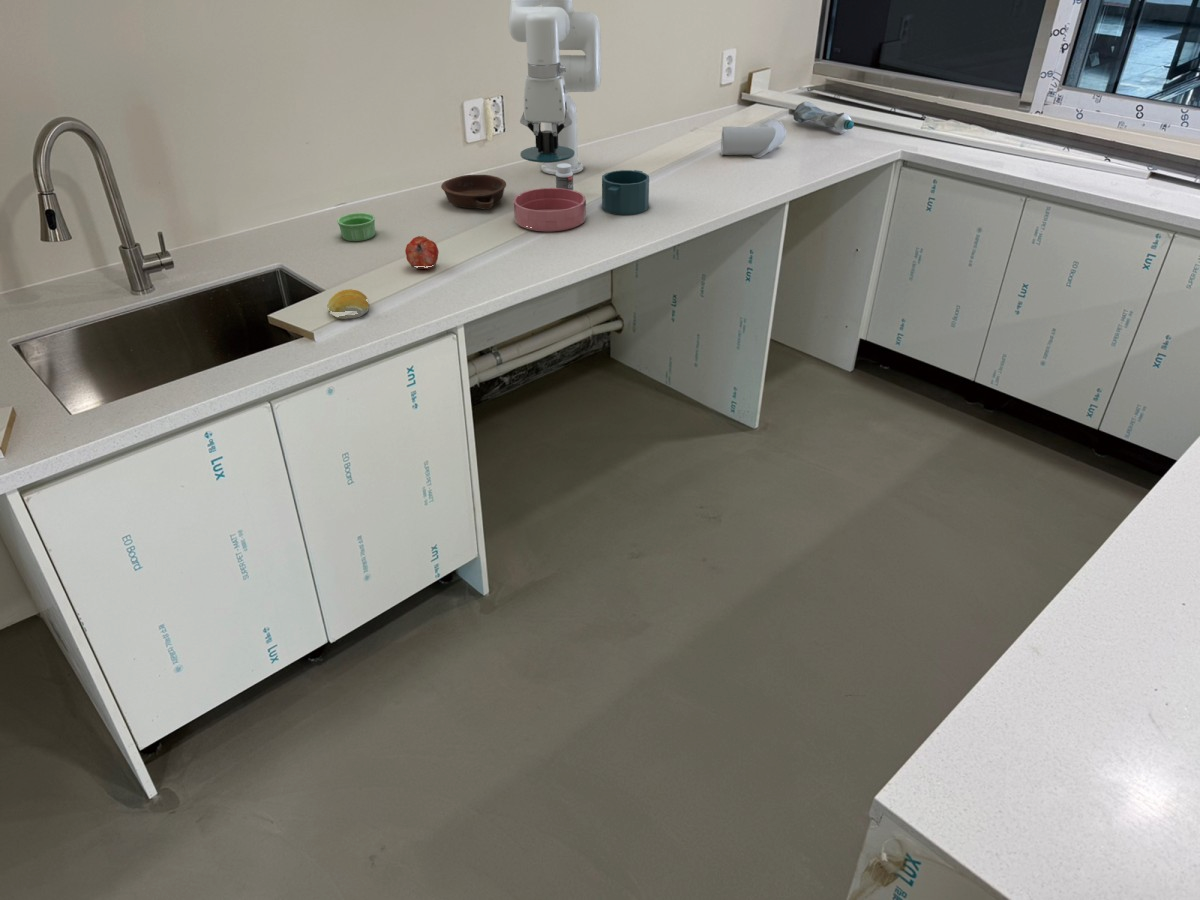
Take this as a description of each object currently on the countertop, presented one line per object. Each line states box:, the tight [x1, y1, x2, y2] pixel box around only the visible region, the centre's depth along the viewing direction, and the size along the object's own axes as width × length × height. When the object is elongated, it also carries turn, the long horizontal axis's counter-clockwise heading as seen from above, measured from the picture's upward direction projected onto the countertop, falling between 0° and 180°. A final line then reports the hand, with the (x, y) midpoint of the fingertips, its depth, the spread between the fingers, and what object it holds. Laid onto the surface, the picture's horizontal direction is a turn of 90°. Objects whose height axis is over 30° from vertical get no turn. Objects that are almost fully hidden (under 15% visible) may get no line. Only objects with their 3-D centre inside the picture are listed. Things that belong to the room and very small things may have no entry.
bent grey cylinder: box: [720, 119, 787, 159], centre depth 265 cm, size 18×11×20 cm
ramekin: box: [337, 212, 376, 242], centre depth 209 cm, size 9×9×4 cm
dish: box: [440, 174, 507, 210], centre depth 229 cm, size 18×22×5 cm
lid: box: [519, 129, 575, 164], centre depth 207 cm, size 13×13×6 cm
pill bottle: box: [555, 163, 574, 190], centre depth 232 cm, size 5×5×8 cm
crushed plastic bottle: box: [792, 101, 855, 135], centre depth 289 cm, size 13×7×25 cm
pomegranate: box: [404, 235, 440, 270], centre depth 191 cm, size 7×7×10 cm
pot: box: [601, 169, 650, 216], centre depth 224 cm, size 12×18×8 cm
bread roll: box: [327, 288, 370, 320], centre depth 173 cm, size 8×9×4 cm
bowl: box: [513, 187, 587, 233], centre depth 216 cm, size 18×18×6 cm
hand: (547, 150), depth 208 cm, fingers closed on lid, 2 cm apart
